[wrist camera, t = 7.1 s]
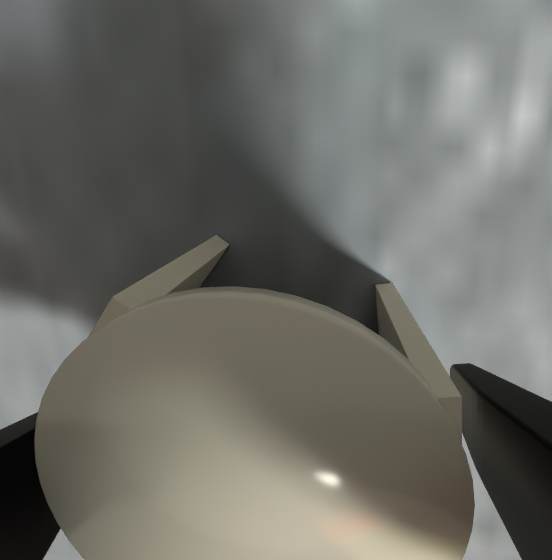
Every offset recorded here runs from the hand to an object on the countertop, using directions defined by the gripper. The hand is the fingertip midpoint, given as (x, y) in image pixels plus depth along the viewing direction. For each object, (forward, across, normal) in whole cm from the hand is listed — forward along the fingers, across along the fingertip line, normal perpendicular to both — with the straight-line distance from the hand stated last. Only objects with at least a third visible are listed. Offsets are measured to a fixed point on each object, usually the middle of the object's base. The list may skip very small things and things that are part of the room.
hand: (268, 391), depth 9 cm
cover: (+3, 0, 0) cm, 3 cm away
